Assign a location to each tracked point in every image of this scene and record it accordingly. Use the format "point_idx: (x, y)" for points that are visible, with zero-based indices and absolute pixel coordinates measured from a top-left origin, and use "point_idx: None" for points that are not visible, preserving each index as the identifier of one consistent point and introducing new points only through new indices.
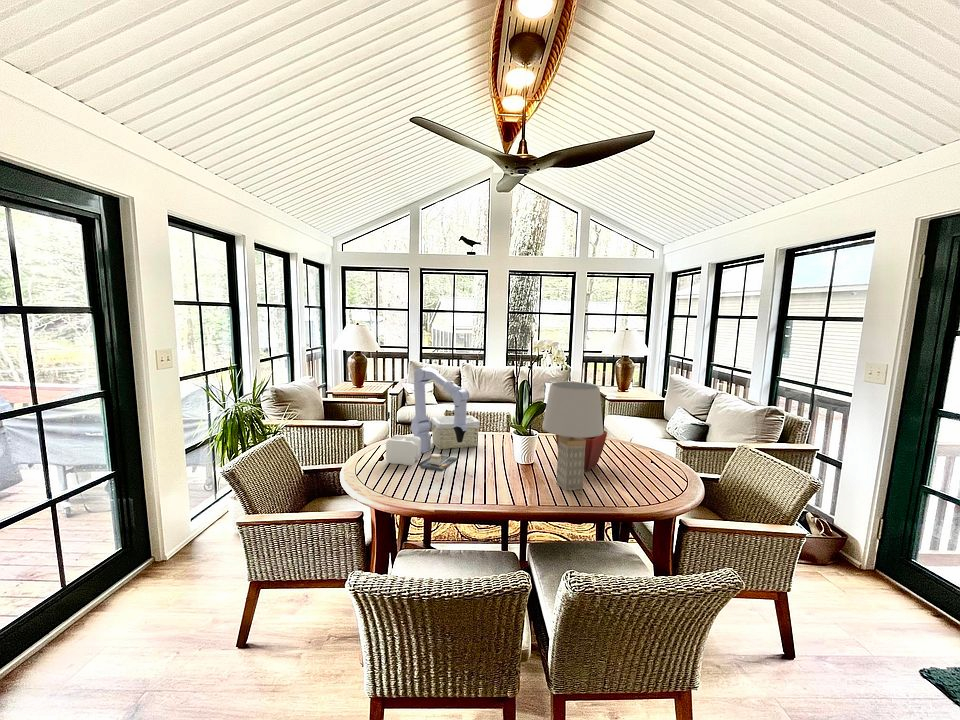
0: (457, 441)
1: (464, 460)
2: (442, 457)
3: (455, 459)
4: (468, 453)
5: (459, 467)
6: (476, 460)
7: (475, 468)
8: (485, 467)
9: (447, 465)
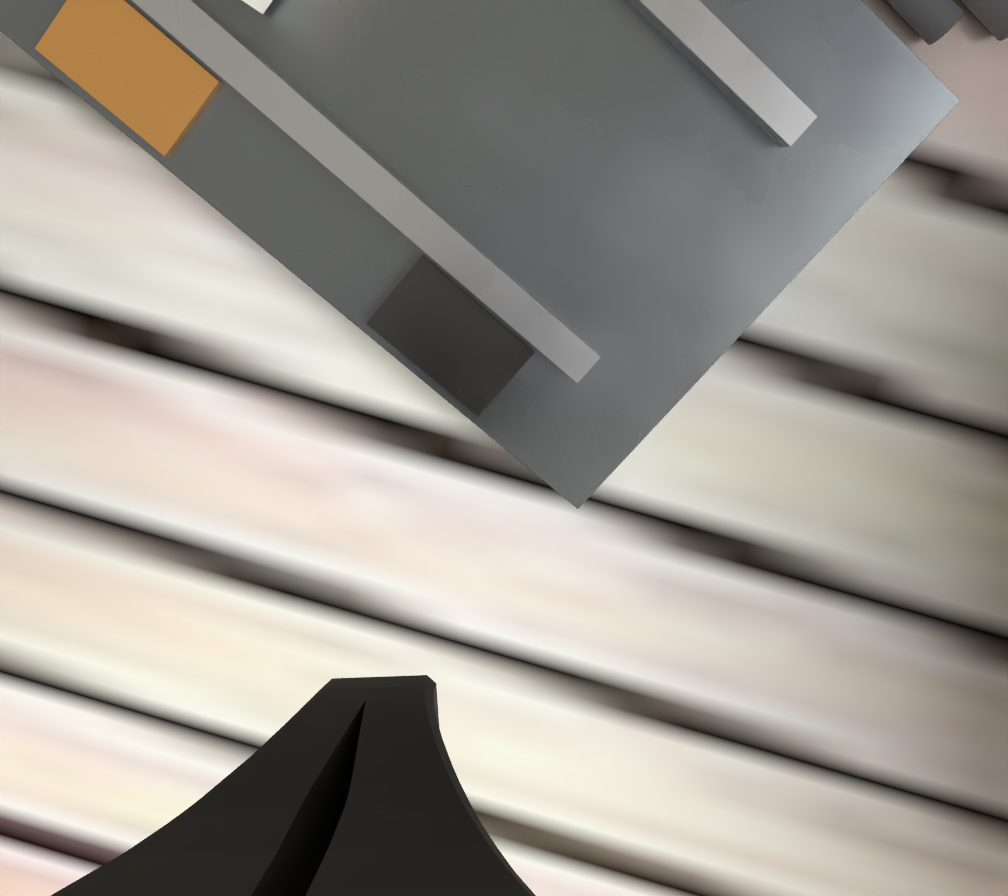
0: (395, 680)
1: (518, 620)
2: (697, 175)
3: (500, 441)
4: (904, 809)
5: (129, 409)
6: None
7: (31, 680)
8: (60, 852)
9: (161, 158)
